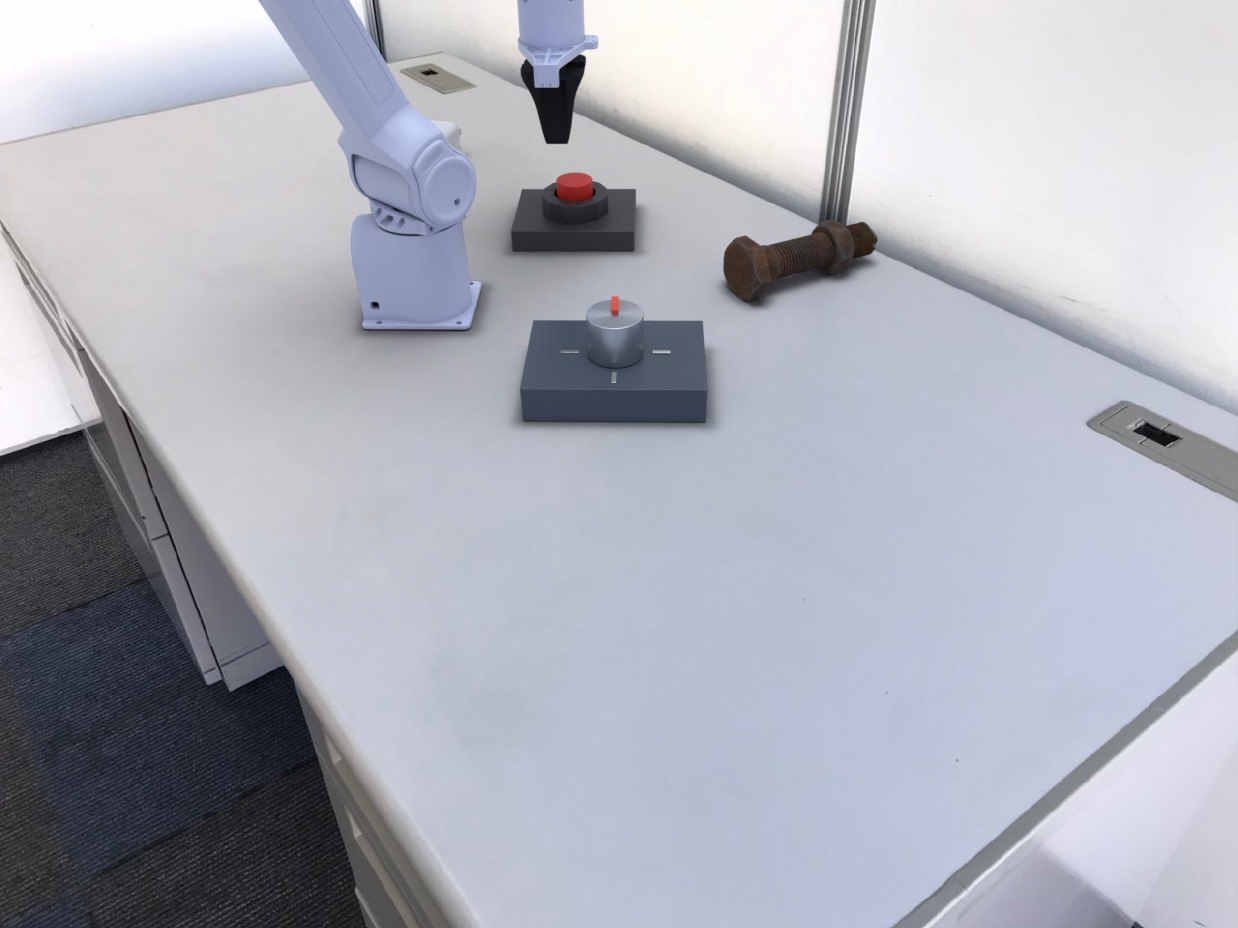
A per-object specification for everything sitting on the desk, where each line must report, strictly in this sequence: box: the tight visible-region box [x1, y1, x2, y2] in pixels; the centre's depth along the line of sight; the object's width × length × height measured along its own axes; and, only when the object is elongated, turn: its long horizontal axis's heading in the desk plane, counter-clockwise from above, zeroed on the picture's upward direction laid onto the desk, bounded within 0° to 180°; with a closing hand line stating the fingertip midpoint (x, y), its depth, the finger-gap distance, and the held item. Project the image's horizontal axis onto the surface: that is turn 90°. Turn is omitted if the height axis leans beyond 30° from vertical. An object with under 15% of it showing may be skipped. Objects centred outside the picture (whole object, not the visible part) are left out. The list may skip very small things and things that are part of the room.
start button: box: [555, 172, 594, 201], centre depth 99 cm, size 4×4×2 cm
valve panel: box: [519, 319, 708, 423], centre depth 79 cm, size 14×10×3 cm
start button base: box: [510, 180, 637, 253], centre depth 101 cm, size 12×10×4 cm
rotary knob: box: [585, 295, 645, 368], centre depth 77 cm, size 4×4×4 cm
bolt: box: [722, 219, 879, 303], centre depth 92 cm, size 6×5×15 cm
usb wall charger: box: [428, 119, 462, 152], centre depth 116 cm, size 4×7×4 cm, turn 163°
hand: (557, 141), depth 93 cm, fingers closed
